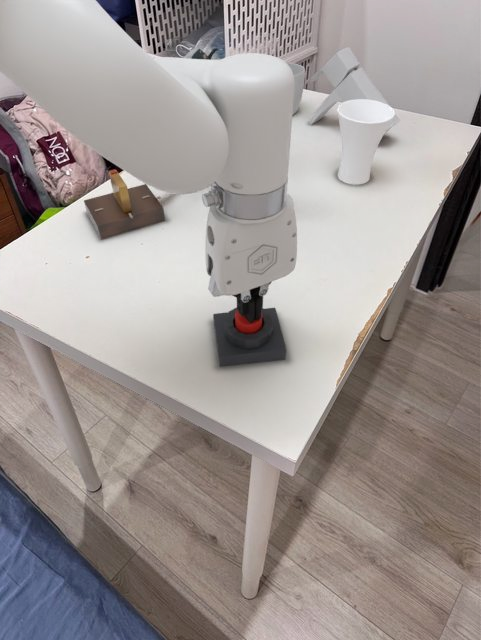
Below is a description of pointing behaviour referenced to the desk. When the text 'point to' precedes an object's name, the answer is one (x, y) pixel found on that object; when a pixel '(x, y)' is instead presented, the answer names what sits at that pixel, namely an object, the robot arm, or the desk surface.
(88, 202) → the tap block
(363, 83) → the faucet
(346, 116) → the cup
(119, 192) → the tap handle
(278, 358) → the dark grey squat piece
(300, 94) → the mug
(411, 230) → the desk surface
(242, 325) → the red short cylinder
